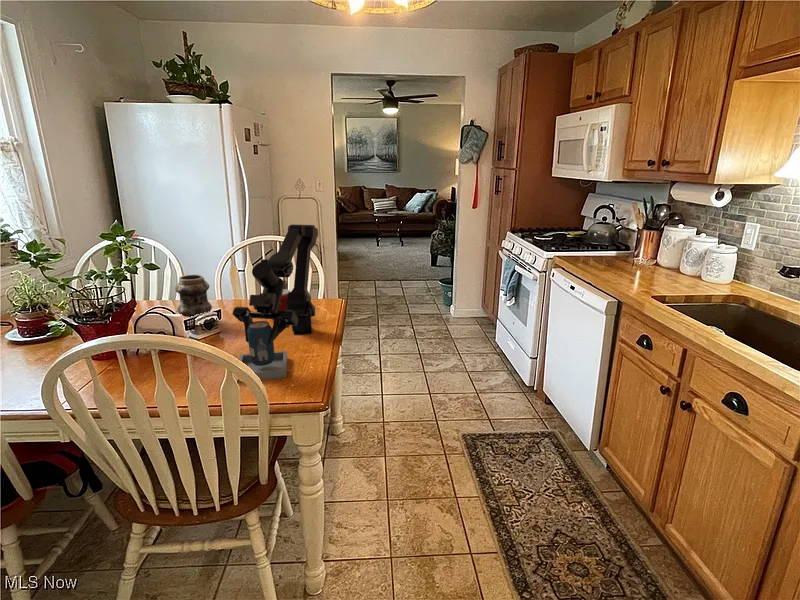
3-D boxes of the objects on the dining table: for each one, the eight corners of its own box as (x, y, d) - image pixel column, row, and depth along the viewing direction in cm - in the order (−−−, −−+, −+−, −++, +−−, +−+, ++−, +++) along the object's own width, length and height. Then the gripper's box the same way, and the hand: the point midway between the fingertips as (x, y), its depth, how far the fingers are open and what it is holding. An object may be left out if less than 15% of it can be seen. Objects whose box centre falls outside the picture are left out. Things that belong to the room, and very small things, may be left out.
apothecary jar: (217, 322, 174) (212, 277, 169) (184, 329, 167) (177, 282, 161) (208, 314, 183) (202, 271, 178) (175, 321, 176) (169, 276, 170)
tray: (287, 358, 144) (286, 350, 143) (286, 378, 131) (285, 370, 130) (241, 361, 141) (240, 354, 140) (235, 382, 128) (234, 374, 127)
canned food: (294, 315, 183) (292, 288, 180) (289, 321, 176) (287, 294, 172) (275, 314, 183) (273, 288, 180) (269, 321, 176) (267, 294, 172)
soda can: (265, 355, 140) (261, 318, 136) (280, 360, 136) (276, 323, 132) (246, 363, 135) (241, 325, 131) (260, 369, 130) (255, 330, 127)
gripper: (231, 280, 133) (215, 329, 126) (291, 283, 130) (278, 333, 123) (247, 298, 143) (233, 344, 136) (303, 301, 140) (292, 348, 133)
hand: (258, 342), depth 132 cm, fingers closed on soda can, 7 cm apart
